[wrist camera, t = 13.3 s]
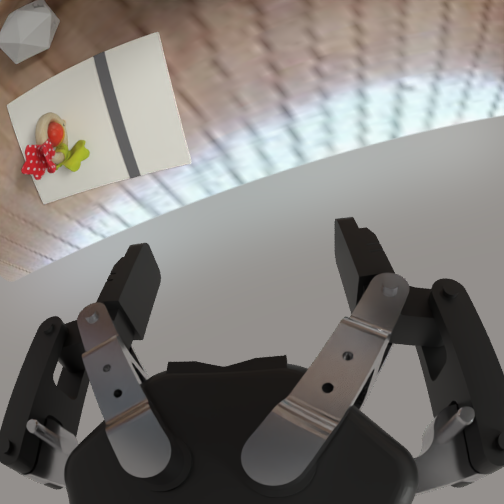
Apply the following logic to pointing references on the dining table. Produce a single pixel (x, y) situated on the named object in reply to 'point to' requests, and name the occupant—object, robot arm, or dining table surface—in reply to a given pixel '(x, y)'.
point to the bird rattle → (52, 148)
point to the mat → (108, 117)
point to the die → (28, 31)
